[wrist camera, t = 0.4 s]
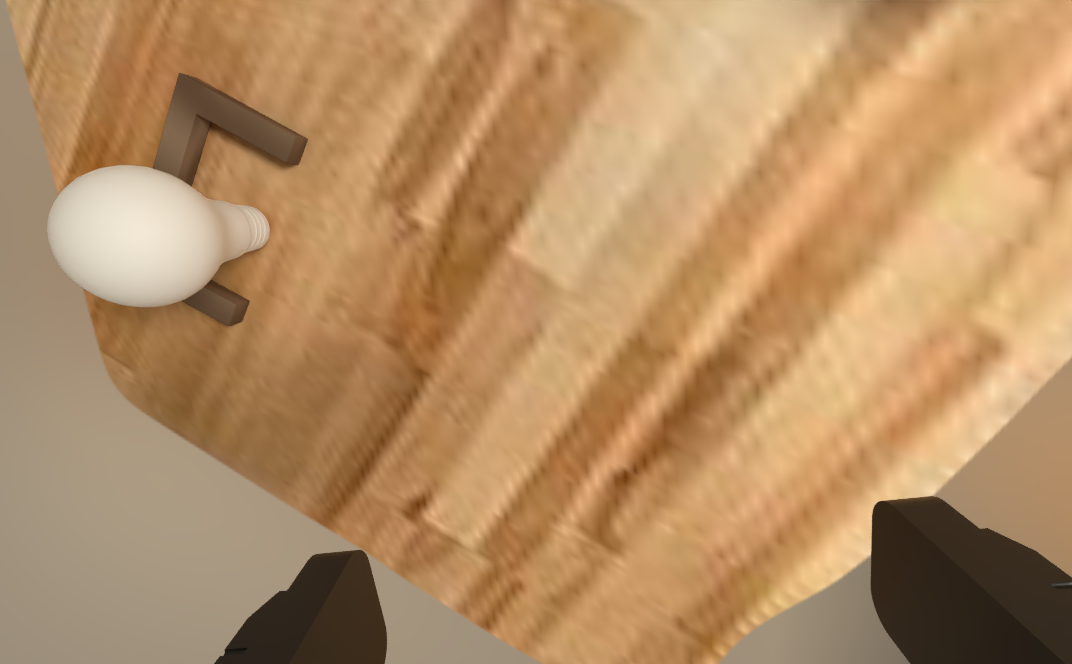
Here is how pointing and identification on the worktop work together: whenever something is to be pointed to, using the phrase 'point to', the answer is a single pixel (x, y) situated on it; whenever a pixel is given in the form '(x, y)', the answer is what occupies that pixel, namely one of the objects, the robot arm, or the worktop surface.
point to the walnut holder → (183, 150)
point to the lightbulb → (146, 235)
